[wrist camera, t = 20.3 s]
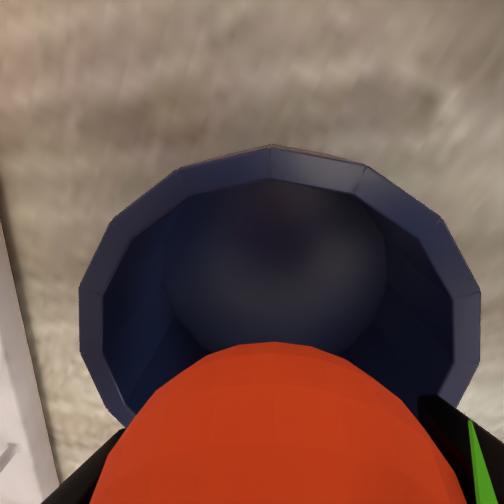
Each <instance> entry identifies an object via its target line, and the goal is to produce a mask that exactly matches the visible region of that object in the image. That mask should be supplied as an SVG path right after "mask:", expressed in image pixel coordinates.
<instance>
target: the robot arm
mask: <svg viewBox="0 0 504 504" xmlns="http://www.w3.org/2000/svg"><path fill="white" fill-rule="evenodd" d="M417 412H418V421H419V423H420V424H421V425H422V426H423V428H424V429H425V430H426V432H427V433H428V435H429V436H430V437H431V439H432V440H433V442H434V443H435V445H436V446H437V447H438V449H439V450H440V452H441V453H442V455H443V456H444V458H445V459H446V460H447V462H448V463H449V465H450V466H451V468H452V469H453V470H454V472H455V474H456V476H457V479H458V481H459V484H460V486H461V489H462V492H463V494H464V497H465V499H466V502H467V504H477V503H476V493H475V483H474V474H473V464H472V455H471V445H470V436H469V426H468V420H471V419H470V418H468V417H467V416H466V415H464V414H463V413H462V412H460V411H459V410H458V409H456V408H455V407H453V406H452V405H451V404H449V403H448V402H447V401H445V400H444V399H443V398H441V397H440V396H438V395H436V394H429V395H420V396H418V397H417ZM472 423H473V426H474V429H475V433H476V436H477V439H478V442H479V445H480V449H481V452H482V455H483V458H484V461H485V464H486V468H487V471H488V474H489V477H490V480H491V483H492V487H493V490H494V493H495V496H496V499H497V502H498V504H504V443H502V442H501V441H500V440H498V439H497V438H496V437H494V436H493V435H492V434H490V433H489V432H487V431H486V430H485V429H483V428H482V427H481V426H479V425H478V424H477V423H475V422H474V421H472ZM126 429H127V428H124V429H120V430H119V431H118V432H117V433H115V434H114V435H113V436H112V437H111V438H110V439H109V440H108V441H107V442H106V443H105V444H104V445H103V446H102V447H101V448H99V449H98V450H97V451H96V452H95V453H94V454H93V455H92V456H91V457H90V458H89V459H88V460H87V461H86V462H84V463H83V464H82V465H81V466H80V467H79V468H78V469H77V470H76V471H75V472H74V473H73V474H72V475H71V476H70V477H68V478H67V479H66V480H65V481H64V482H63V483H62V484H61V485H60V486H59V487H58V488H57V489H56V490H55V491H53V492H52V493H51V494H50V495H49V496H48V497H47V498H46V499H45V500H44V501H43V502H42V503H41V504H89V503H90V501H91V498H92V495H93V493H94V490H95V488H96V485H97V483H98V480H99V477H100V475H101V472H102V470H103V467H104V464H105V462H106V459H107V457H108V454H109V453H110V451H111V450H112V449H113V447H114V446H115V444H116V443H117V441H118V440H119V439H120V437H121V436H122V434H123V433H124V432H125V430H126Z"/></svg>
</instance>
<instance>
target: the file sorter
mask: <svg viewBox="0 0 504 504" xmlns="http://www.w3.org/2000/svg"><path fill="white" fill-rule="evenodd" d="M59 486H60V485H59V482H58V477H57V473H56V469H55V464H54V460H53V455H52V451H51V446H50V442H49V437H48V433H47V429H46V424H45V420H44V415H43V411H42V406H41V402H40V397H39V392H38V388H37V383H36V379H35V374H34V370H33V365H32V361H31V356H30V352H29V347H28V343H27V339H26V334H25V330H24V325H23V321H22V316H21V312H20V307H19V303H18V298H17V294H16V289H15V285H14V280H13V276H12V271H11V267H10V262H9V257H8V253H7V248H6V244H5V239H4V235H3V230H2V226H1V221H0V504H41V503H42V502H43V501H44V500H45V499H46V498H47V497H48V496H49V495H50V494H51V493H52V492H53V491H55V490H56V489H57V488H58V487H59Z"/></svg>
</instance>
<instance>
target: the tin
mask: <svg viewBox="0 0 504 504" xmlns="http://www.w3.org/2000/svg"><path fill="white" fill-rule="evenodd" d="M480 311H481V292H480V288H479V286H478V284H477V282H476V280H475V278H474V276H473V275H472V273H471V271H470V269H469V267H468V265H467V263H466V261H465V260H464V258H463V256H462V254H461V252H460V250H459V248H458V246H457V245H456V243H455V241H454V239H453V237H452V235H451V233H450V231H449V230H448V228H447V226H446V224H445V222H444V220H443V219H441V217H440V216H439V215H438V214H436V213H435V212H433V211H432V210H431V209H429V208H428V207H426V206H425V205H423V204H422V203H421V202H419V201H418V200H416V199H415V198H413V197H412V196H411V195H409V194H408V193H406V192H405V191H403V190H402V189H401V188H399V187H398V186H396V185H395V184H393V183H392V182H391V181H389V180H388V179H386V178H385V177H383V176H382V175H381V174H379V173H378V172H376V171H375V170H373V169H372V168H371V167H369V166H366V165H365V164H362V163H358V162H354V161H350V160H347V159H343V158H339V157H336V156H332V155H328V154H323V153H318V152H312V151H307V150H301V149H296V148H291V147H285V146H280V145H274V144H273V145H266V146H262V147H257V148H253V149H249V150H244V151H240V152H236V153H232V154H227V155H223V156H219V157H215V158H212V159H208V160H205V161H201V162H198V163H194V164H191V165H187V166H184V167H180V168H179V169H177V170H174V171H173V172H172V173H171V174H169V175H168V176H167V177H165V178H164V179H163V180H162V181H160V182H159V183H158V184H156V185H155V186H154V187H153V188H151V189H150V190H149V191H147V192H146V193H145V194H144V195H142V196H141V197H140V198H138V199H137V200H136V201H134V202H133V203H132V204H131V205H129V206H128V207H127V208H125V209H124V210H123V211H122V212H120V213H119V214H118V215H116V216H115V217H114V218H113V220H112V221H111V222H110V223H109V225H108V227H107V229H106V231H105V233H104V235H103V237H102V239H101V241H100V244H99V246H98V248H97V250H96V252H95V254H94V256H93V258H92V260H91V262H90V264H89V266H88V268H87V271H86V273H85V275H84V277H83V279H82V281H81V283H80V286H79V342H80V352H81V356H82V358H83V360H84V362H85V364H86V366H87V369H88V371H89V373H90V375H91V377H92V379H93V381H94V383H95V386H96V388H97V390H98V392H99V394H100V396H101V398H102V400H103V403H104V405H105V407H106V408H107V409H108V411H109V412H110V413H111V414H112V415H113V416H114V417H115V418H116V419H117V420H118V421H119V422H120V423H121V424H122V425H123V426H124V427H125V428H127V427H128V426H129V425H130V423H131V422H132V420H133V419H134V417H135V416H136V415H137V414H138V412H139V411H140V410H141V409H142V407H143V406H144V405H145V404H146V402H147V401H148V400H149V399H150V397H151V396H152V395H153V394H154V392H155V391H156V390H158V389H159V388H160V387H162V386H163V385H164V384H166V383H167V382H169V381H170V380H171V379H173V378H174V377H175V376H177V375H178V374H179V373H181V372H182V371H184V370H185V369H187V368H188V367H190V366H191V365H193V364H194V363H196V362H197V361H199V360H200V359H202V358H203V357H205V356H206V355H209V354H212V353H215V352H218V351H221V350H224V349H227V348H230V347H233V346H236V345H241V344H253V343H264V342H282V343H289V344H297V345H304V346H312V347H314V348H317V349H320V350H322V351H325V352H328V353H330V354H333V355H336V356H338V357H341V358H344V359H346V360H348V361H349V362H350V363H352V364H353V365H355V366H356V367H358V368H359V369H361V370H362V371H364V372H365V373H366V374H368V375H369V376H371V377H372V378H374V379H375V380H376V381H377V382H379V383H380V384H381V385H383V386H384V387H385V388H386V389H388V390H389V391H390V392H392V393H393V394H394V395H395V396H397V397H398V398H399V399H401V401H402V402H403V403H404V404H405V405H406V407H407V408H408V409H409V410H410V412H411V413H412V414H413V415H414V417H415V418H416V419H417V420H418V412H417V397H418V396H420V395H429V394H436V395H438V396H440V397H441V398H443V399H444V400H445V401H447V402H448V403H449V404H451V405H452V406H453V407H455V408H457V406H458V404H459V402H460V400H461V398H462V396H463V394H464V392H465V391H466V389H467V387H468V385H469V383H470V381H471V379H472V377H473V375H474V373H475V371H476V369H477V367H478V365H479V362H480Z"/></svg>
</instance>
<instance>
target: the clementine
mask: <svg viewBox="0 0 504 504" xmlns="http://www.w3.org/2000/svg"><path fill="white" fill-rule="evenodd" d="M468 426H469V436H470V445H471V455H472V464H473V474H474V483H475V493H476V503H477V504H498V502H497V499H496V496H495V493H494V490H493V487H492V483H491V480H490V477H489V474H488V471H487V468H486V464H485V461H484V458H483V455H482V452H481V449H480V445H479V442H478V439H477V436H476V433H475V429H474V426H473V423H472V420H468ZM89 504H467V502H466V499H465V497H464V494H463V492H462V489H461V486H460V484H459V481H458V479H457V476H456V474H455V472H454V470H453V469H452V468H451V466H450V465H449V463H448V462H447V460H446V459H445V458H444V456H443V455H442V453H441V452H440V450H439V449H438V447H437V446H436V445H435V443H434V442H433V440H432V439H431V437H430V436H429V435H428V433H427V432H426V430H425V429H424V428H423V426H422V425H421V424H420V423H419V421H418V420H417V419H416V418H415V417H414V415H413V414H412V413H411V412H410V410H409V409H408V408H407V407H406V405H405V404H404V403H403V402H402V401H401V399H399V398H398V397H397V396H395V395H394V394H393V393H392V392H390V391H389V390H388V389H386V388H385V387H384V386H383V385H381V384H380V383H379V382H377V381H376V380H375V379H374V378H372V377H371V376H369V375H368V374H366V373H365V372H364V371H362V370H361V369H359V368H358V367H356V366H355V365H353V364H352V363H350V362H349V361H348V360H346V359H344V358H341V357H338V356H336V355H333V354H330V353H328V352H325V351H322V350H320V349H317V348H314V347H312V346H304V345H297V344H289V343H282V342H264V343H253V344H241V345H236V346H233V347H230V348H227V349H224V350H221V351H218V352H215V353H212V354H209V355H206V356H205V357H203V358H202V359H200V360H199V361H197V362H196V363H194V364H193V365H191V366H190V367H188V368H187V369H185V370H184V371H182V372H181V373H179V374H178V375H177V376H175V377H174V378H173V379H171V380H170V381H169V382H167V383H166V384H164V385H163V386H162V387H160V388H159V389H158V390H156V391H155V392H154V394H153V395H152V396H151V397H150V399H149V400H148V401H147V402H146V404H145V405H144V406H143V407H142V409H141V410H140V411H139V412H138V414H137V415H136V416H135V417H134V419H133V420H132V422H131V423H130V425H129V426H128V427H127V429H126V430H125V432H124V433H123V434H122V436H121V437H120V439H119V440H118V441H117V443H116V444H115V446H114V447H113V449H112V450H111V451H110V453H109V454H108V457H107V459H106V462H105V464H104V467H103V470H102V472H101V475H100V477H99V480H98V483H97V485H96V488H95V490H94V493H93V495H92V498H91V501H90V503H89Z"/></svg>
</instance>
